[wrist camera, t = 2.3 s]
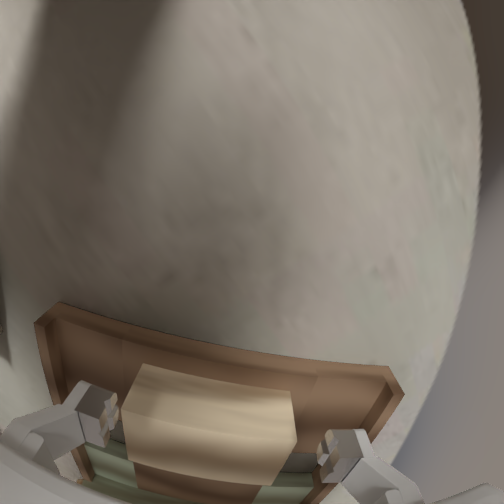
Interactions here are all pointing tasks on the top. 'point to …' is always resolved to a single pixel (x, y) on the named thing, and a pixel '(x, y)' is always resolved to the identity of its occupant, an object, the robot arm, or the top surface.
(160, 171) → the top surface
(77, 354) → the brown shallow open piece
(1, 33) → the top surface
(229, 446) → the block
